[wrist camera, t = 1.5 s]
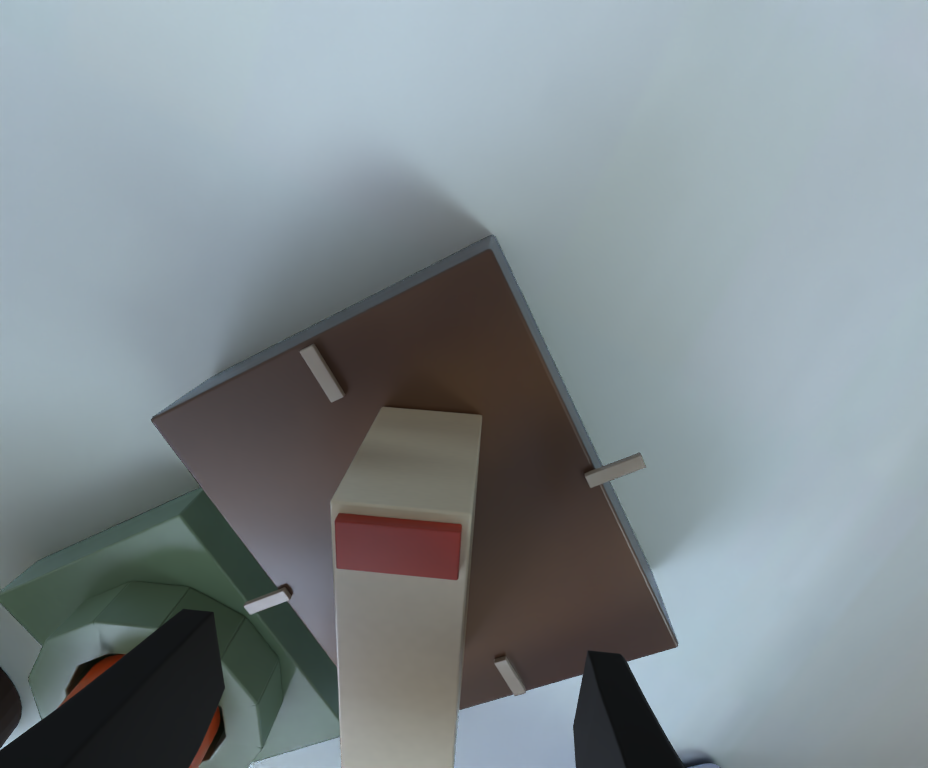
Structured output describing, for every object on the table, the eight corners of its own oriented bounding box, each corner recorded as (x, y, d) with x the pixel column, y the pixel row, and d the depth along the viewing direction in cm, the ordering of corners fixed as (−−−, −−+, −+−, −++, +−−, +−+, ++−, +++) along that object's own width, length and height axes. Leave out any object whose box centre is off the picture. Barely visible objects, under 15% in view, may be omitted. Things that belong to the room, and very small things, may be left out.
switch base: (685, 561, 17) (722, 641, 14) (376, 662, 20) (353, 746, 17) (532, 213, 14) (539, 223, 11) (181, 391, 16) (111, 438, 13)
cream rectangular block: (464, 651, 15) (449, 817, 11) (381, 643, 15) (338, 804, 11) (482, 413, 13) (470, 523, 9) (381, 405, 13) (324, 509, 9)
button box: (363, 688, 20) (336, 786, 17) (200, 740, 22) (148, 836, 19) (210, 482, 17) (142, 552, 14) (37, 560, 19) (-59, 638, 16)
